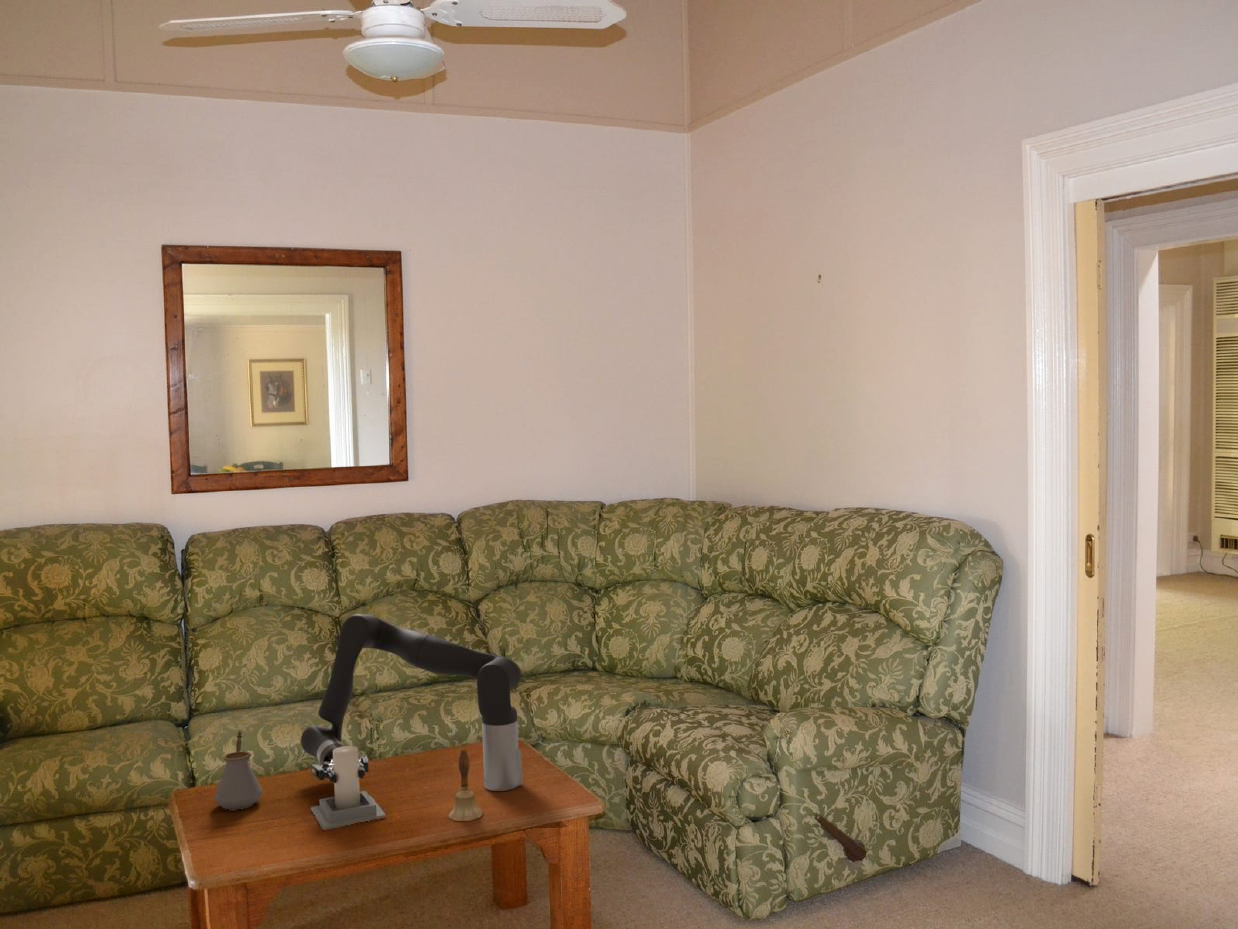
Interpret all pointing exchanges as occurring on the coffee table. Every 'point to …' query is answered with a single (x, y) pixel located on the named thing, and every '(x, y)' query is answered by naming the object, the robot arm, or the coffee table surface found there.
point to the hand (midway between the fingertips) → (348, 776)
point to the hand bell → (465, 795)
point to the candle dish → (346, 812)
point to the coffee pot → (237, 781)
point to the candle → (346, 777)
